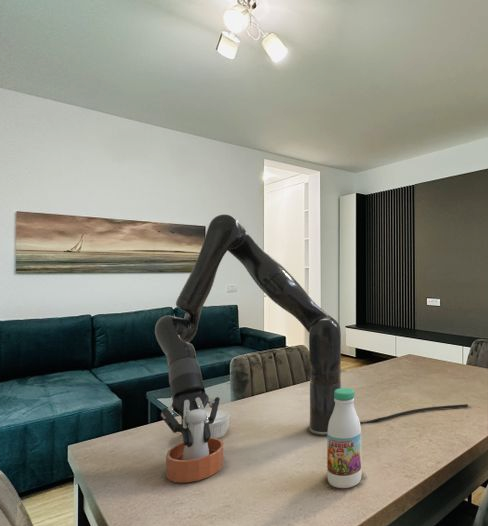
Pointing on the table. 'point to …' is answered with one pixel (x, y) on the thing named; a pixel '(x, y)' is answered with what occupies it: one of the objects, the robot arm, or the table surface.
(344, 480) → the milk bottle
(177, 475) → the bowl
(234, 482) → the table surface
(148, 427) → the table surface
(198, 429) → the salt shaker
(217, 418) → the ramekin
